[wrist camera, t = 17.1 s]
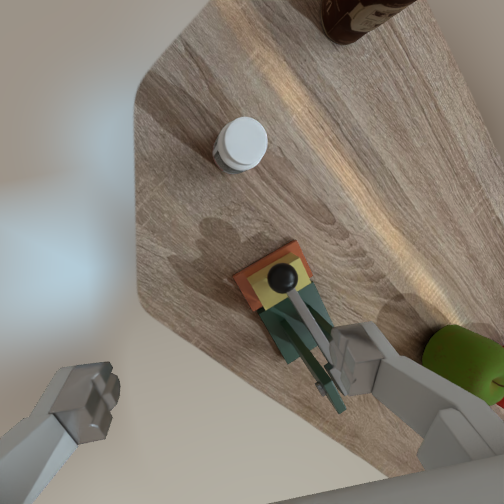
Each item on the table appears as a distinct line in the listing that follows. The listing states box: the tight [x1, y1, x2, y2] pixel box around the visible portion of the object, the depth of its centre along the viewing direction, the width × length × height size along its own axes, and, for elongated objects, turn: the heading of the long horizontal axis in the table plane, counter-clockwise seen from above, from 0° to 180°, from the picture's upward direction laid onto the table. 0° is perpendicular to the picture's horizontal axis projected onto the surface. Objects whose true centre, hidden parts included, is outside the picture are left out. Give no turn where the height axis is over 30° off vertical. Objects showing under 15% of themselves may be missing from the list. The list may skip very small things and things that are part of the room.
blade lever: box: [267, 263, 348, 396], centre depth 28 cm, size 15×4×4 cm, turn 28°
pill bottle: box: [213, 117, 267, 174], centre depth 27 cm, size 5×5×8 cm
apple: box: [422, 325, 504, 406], centre depth 42 cm, size 11×11×11 cm
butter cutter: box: [257, 280, 346, 414], centre depth 32 cm, size 10×9×14 cm
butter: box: [233, 240, 313, 312], centre depth 34 cm, size 6×10×4 cm, turn 118°
